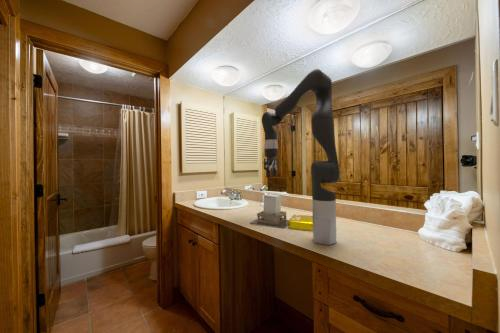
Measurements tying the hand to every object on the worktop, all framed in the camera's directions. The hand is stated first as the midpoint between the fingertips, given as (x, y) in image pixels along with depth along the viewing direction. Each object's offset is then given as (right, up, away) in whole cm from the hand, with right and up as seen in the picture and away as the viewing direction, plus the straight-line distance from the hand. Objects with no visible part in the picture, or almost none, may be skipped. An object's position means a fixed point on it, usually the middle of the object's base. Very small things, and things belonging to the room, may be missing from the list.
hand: (271, 177), depth 116 cm
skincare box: (0, -25, 0) cm, 25 cm away
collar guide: (0, -25, -1) cm, 25 cm away
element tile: (+17, -26, -8) cm, 32 cm away
